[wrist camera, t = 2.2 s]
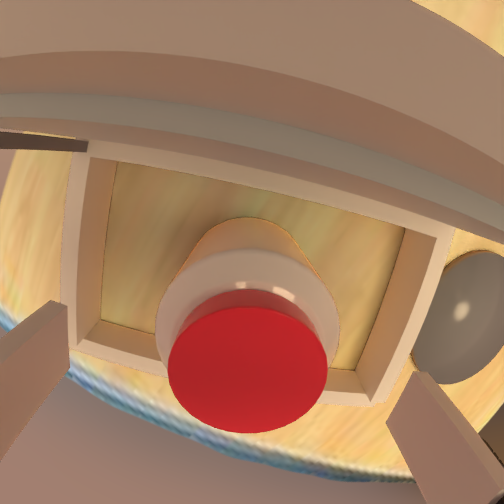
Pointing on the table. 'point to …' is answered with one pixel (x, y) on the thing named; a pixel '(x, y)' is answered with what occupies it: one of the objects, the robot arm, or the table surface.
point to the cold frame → (264, 133)
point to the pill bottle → (247, 329)
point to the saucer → (463, 319)
